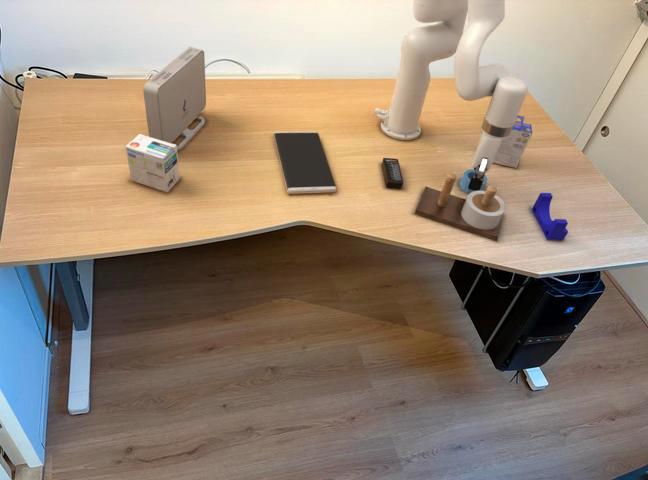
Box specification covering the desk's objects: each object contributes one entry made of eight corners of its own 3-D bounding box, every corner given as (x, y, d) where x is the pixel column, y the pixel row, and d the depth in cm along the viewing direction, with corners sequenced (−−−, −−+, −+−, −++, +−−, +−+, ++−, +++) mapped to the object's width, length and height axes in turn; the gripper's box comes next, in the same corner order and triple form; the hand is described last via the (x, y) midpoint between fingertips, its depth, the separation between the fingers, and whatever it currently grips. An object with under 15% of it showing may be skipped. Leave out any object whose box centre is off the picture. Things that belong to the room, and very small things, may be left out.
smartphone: (317, 135, 164) (318, 130, 163) (336, 193, 146) (337, 188, 145) (273, 136, 161) (273, 131, 160) (287, 195, 144) (288, 190, 142)
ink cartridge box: (516, 158, 168) (535, 116, 157) (517, 168, 164) (536, 126, 154) (484, 151, 169) (501, 109, 158) (484, 161, 165) (502, 119, 154)
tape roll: (457, 189, 154) (461, 179, 151) (461, 176, 158) (465, 166, 156) (481, 197, 153) (485, 187, 150) (484, 183, 157) (489, 173, 154)
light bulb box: (180, 178, 143) (178, 144, 135) (167, 193, 139) (164, 158, 131) (144, 167, 145) (139, 132, 137) (130, 181, 140) (124, 145, 132)
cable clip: (563, 240, 144) (573, 223, 140) (547, 239, 144) (557, 222, 139) (546, 210, 152) (555, 193, 148) (531, 209, 152) (540, 192, 147)
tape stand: (414, 213, 145) (425, 180, 136) (424, 190, 152) (435, 157, 144) (496, 241, 141) (512, 208, 133) (502, 215, 148) (517, 183, 140)
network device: (171, 159, 148) (164, 92, 133) (142, 150, 149) (132, 82, 135) (213, 114, 165) (211, 50, 150) (187, 106, 166) (182, 42, 152)
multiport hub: (386, 188, 150) (387, 181, 149) (381, 164, 158) (382, 157, 156) (401, 189, 151) (403, 182, 149) (396, 165, 158) (398, 158, 157)
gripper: (487, 107, 147) (468, 160, 160) (477, 138, 136) (457, 193, 148) (515, 115, 146) (493, 168, 158) (507, 147, 134) (484, 201, 147)
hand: (476, 180), depth 153 cm, fingers open, 9 cm apart
